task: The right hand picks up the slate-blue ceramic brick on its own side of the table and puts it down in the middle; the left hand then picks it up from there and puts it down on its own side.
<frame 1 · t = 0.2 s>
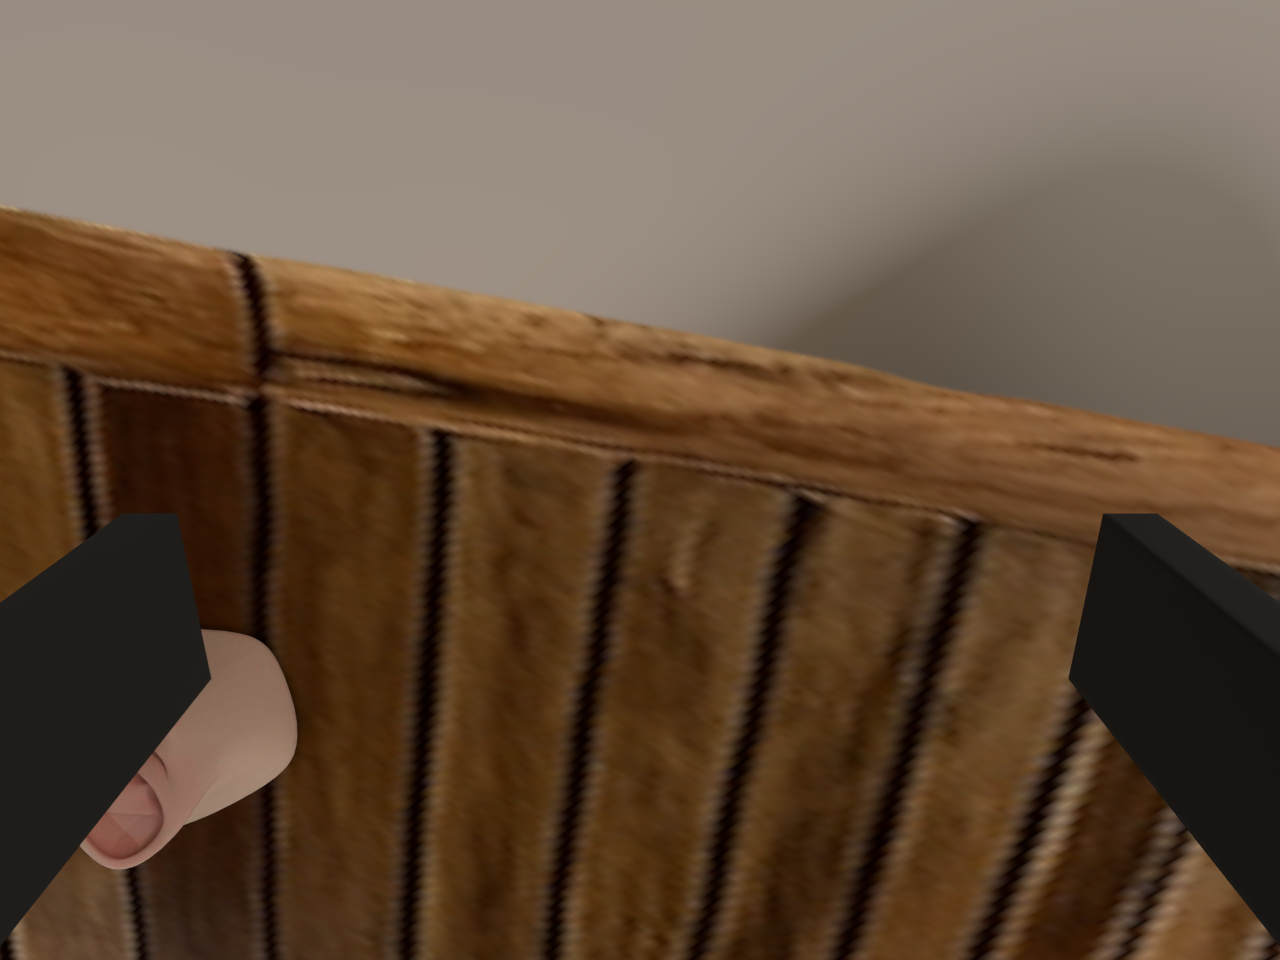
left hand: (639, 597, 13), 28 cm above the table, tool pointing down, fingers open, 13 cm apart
anatomical model: (188, 721, 47), on the table
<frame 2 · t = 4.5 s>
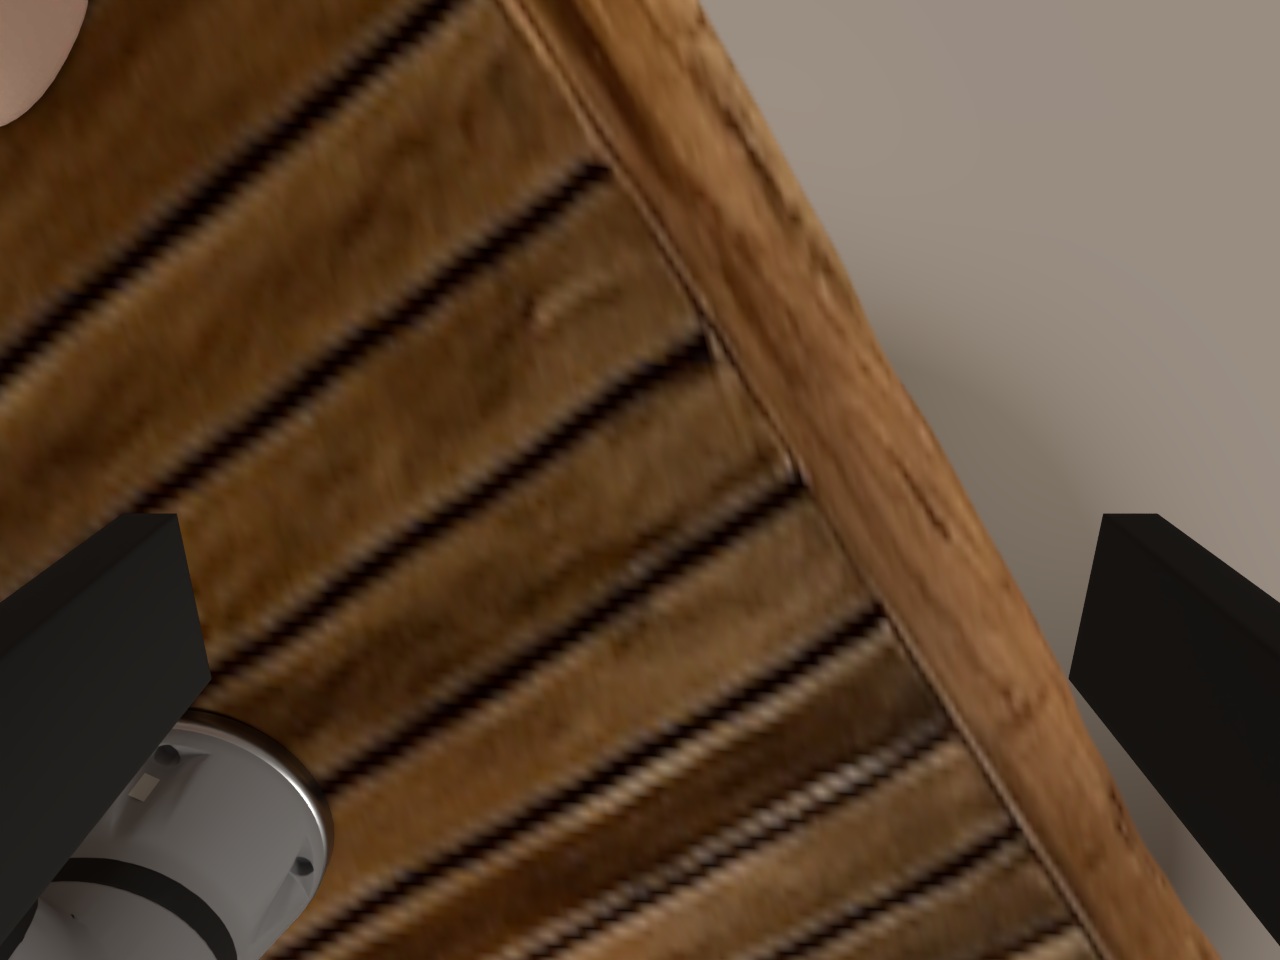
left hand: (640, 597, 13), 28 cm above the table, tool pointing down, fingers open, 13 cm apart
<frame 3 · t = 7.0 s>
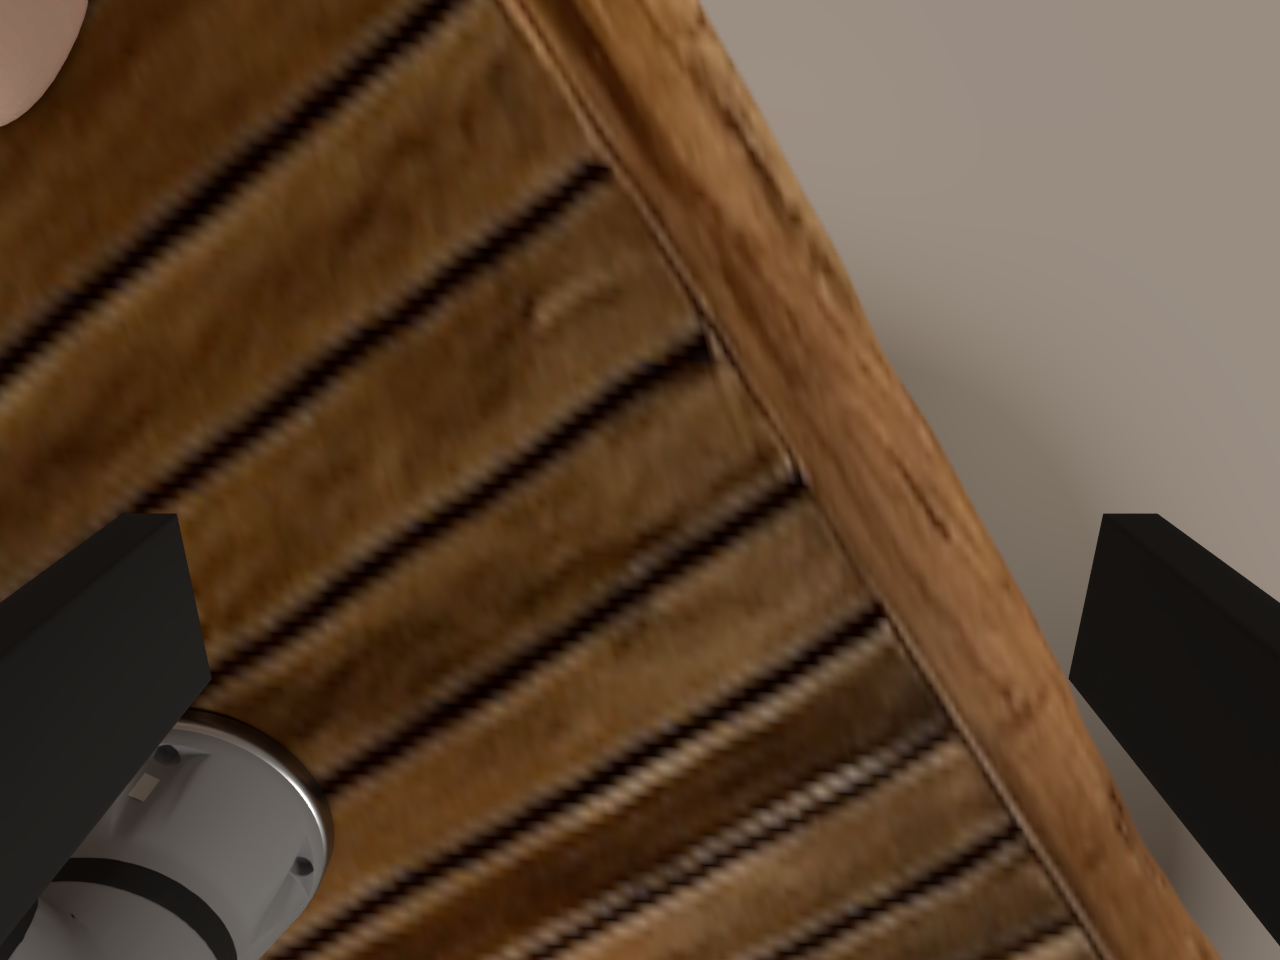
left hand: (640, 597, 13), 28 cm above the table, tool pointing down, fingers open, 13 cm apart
when the right hand's fingers open (4 cm above the table, at t = 9.5 s): brick drops 1 cm, on the table.
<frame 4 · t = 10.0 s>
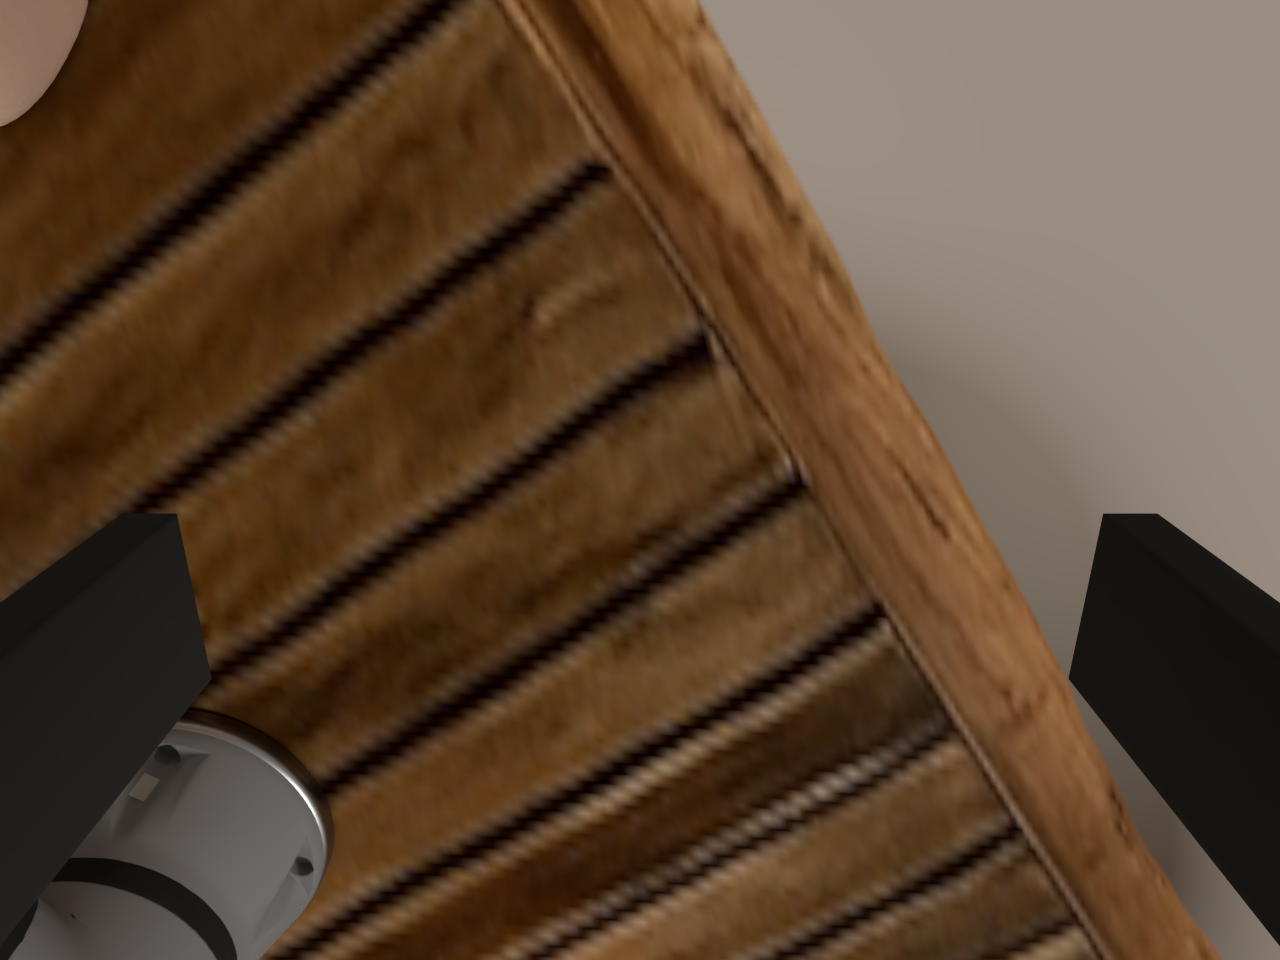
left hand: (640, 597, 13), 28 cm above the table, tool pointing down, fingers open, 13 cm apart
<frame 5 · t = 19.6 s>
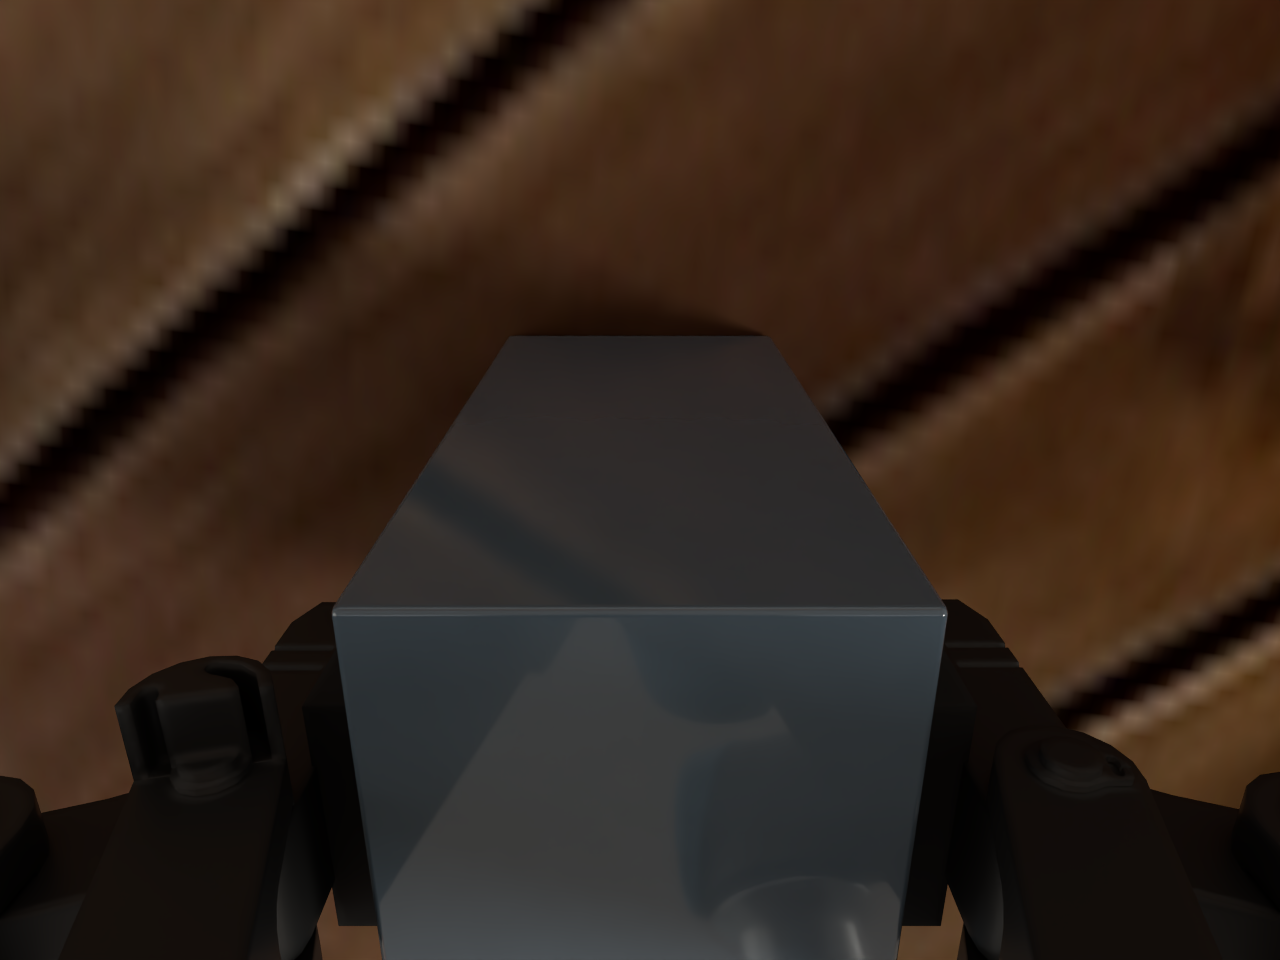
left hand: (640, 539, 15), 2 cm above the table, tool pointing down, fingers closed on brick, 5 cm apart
brick: (639, 483, 17), on the table, touching left hand
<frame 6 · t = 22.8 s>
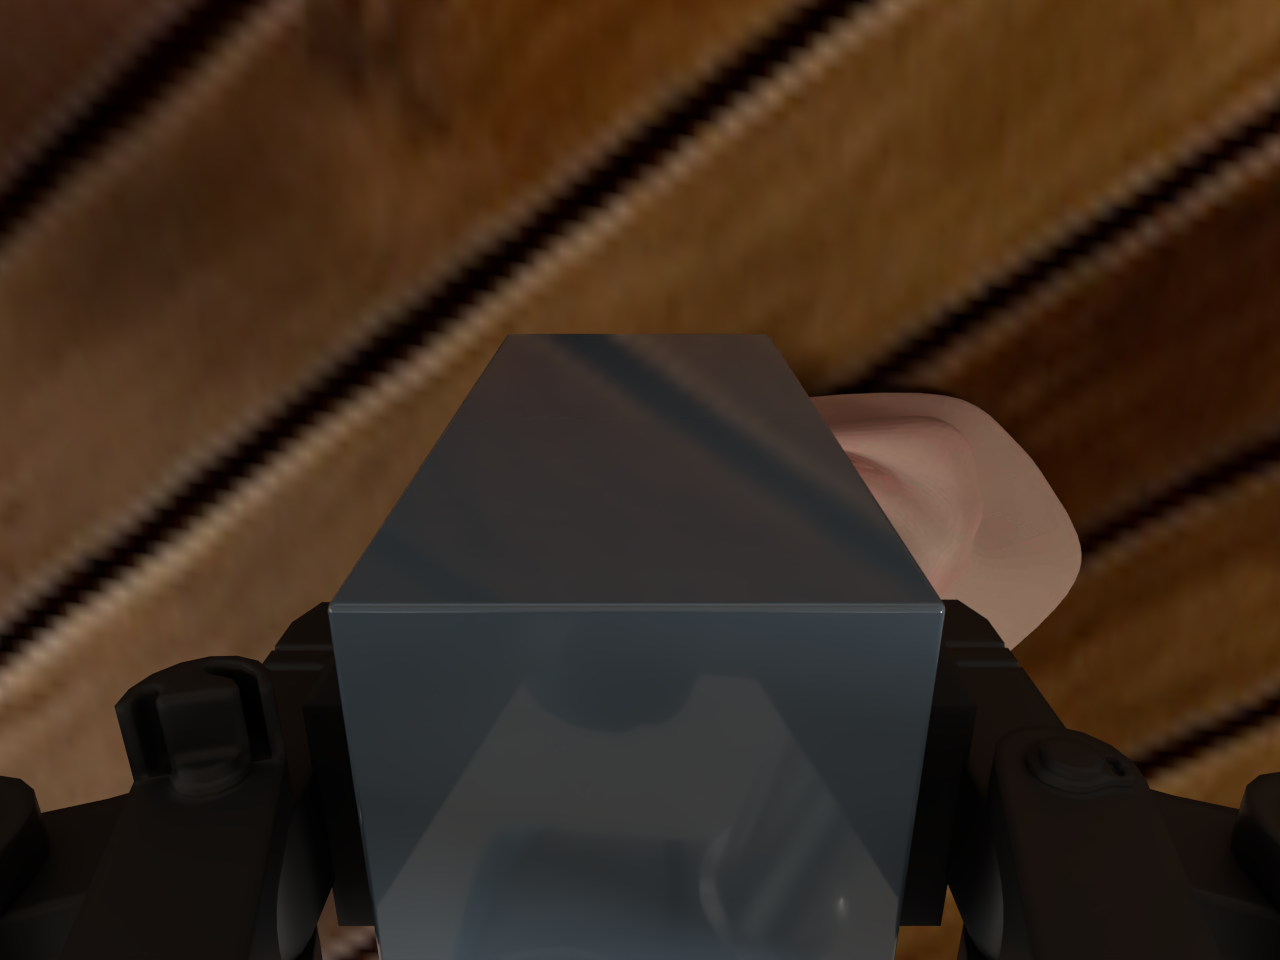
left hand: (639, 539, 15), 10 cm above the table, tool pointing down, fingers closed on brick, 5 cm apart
anatomical model: (833, 556, 26), on the table
brick: (638, 482, 17), point 8 cm above the table, touching left hand
when the left hand's fingers open (4 cm above the table, at t = 26.3 s): brick drops 1 cm, on the table.
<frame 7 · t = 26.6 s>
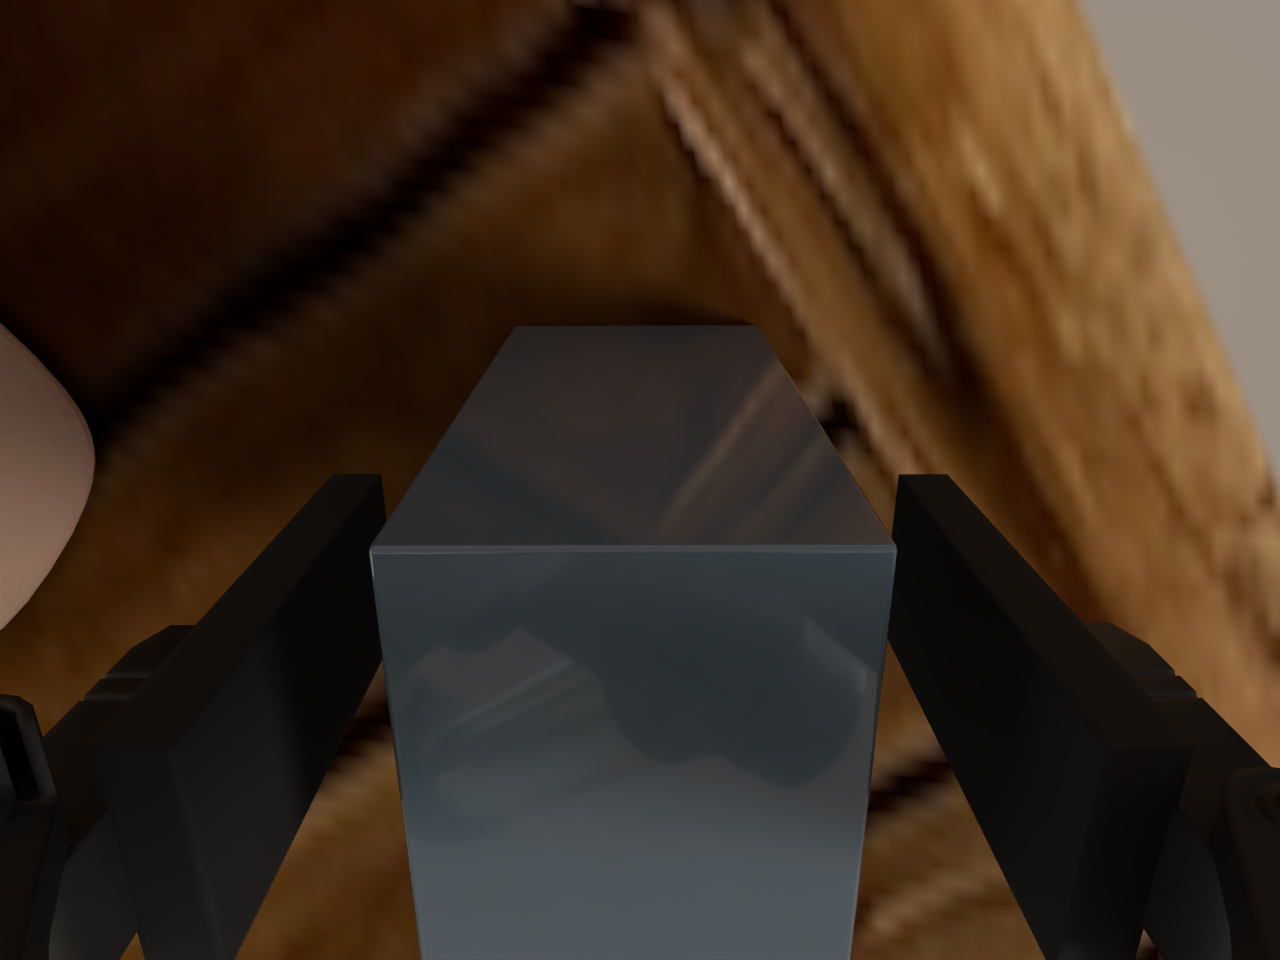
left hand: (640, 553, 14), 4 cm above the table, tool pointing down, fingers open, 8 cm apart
brick: (636, 465, 18), on the table
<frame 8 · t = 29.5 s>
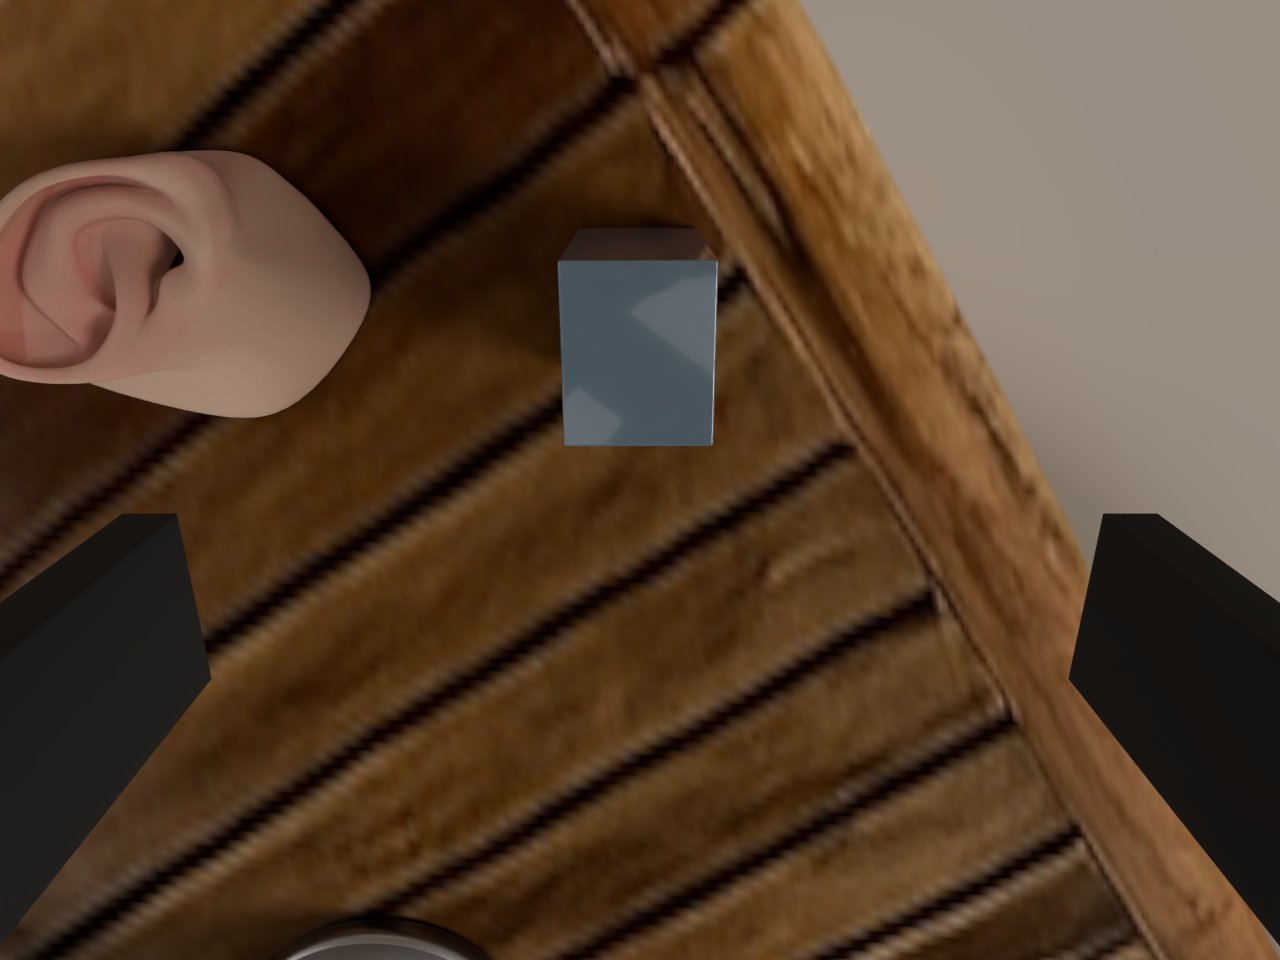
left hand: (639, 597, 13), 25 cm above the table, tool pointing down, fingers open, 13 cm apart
anatomical model: (197, 284, 36), on the table
brick: (638, 301, 36), on the table
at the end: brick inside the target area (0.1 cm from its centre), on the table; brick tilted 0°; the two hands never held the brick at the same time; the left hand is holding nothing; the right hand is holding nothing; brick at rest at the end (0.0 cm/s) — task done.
